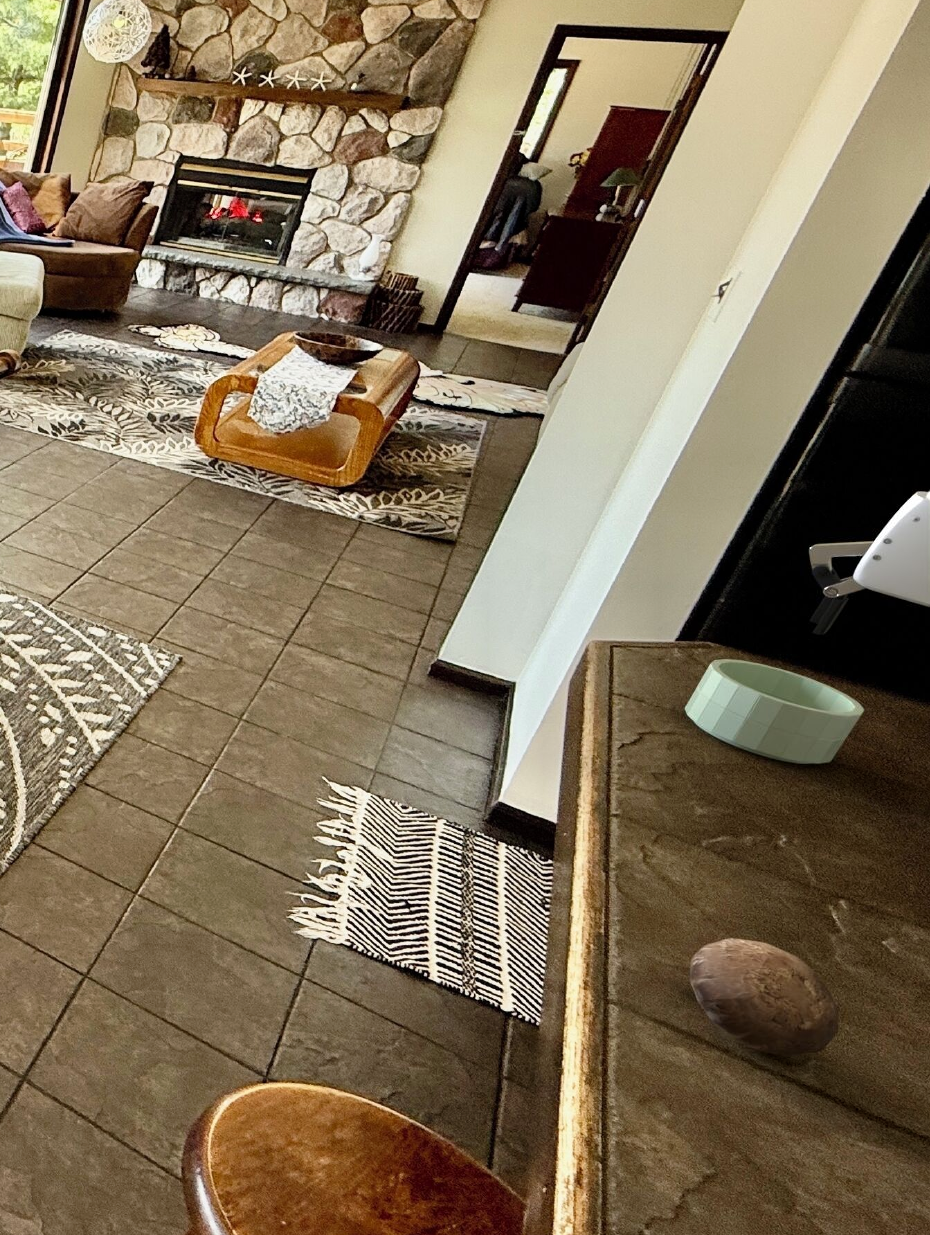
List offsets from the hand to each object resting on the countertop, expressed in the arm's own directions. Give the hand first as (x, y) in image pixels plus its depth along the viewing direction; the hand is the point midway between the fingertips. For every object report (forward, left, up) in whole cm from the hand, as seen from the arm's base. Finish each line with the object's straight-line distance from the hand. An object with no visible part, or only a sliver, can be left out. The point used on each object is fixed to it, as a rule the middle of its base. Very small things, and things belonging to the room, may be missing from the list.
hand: (888, 653), depth 104 cm
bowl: (+3, -4, -13) cm, 14 cm away
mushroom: (+46, +39, -13) cm, 62 cm away
